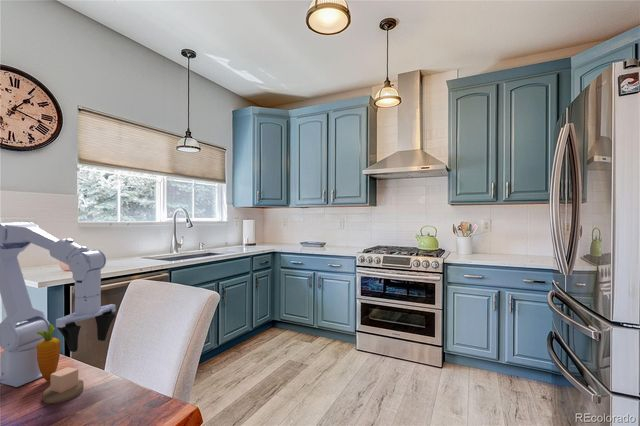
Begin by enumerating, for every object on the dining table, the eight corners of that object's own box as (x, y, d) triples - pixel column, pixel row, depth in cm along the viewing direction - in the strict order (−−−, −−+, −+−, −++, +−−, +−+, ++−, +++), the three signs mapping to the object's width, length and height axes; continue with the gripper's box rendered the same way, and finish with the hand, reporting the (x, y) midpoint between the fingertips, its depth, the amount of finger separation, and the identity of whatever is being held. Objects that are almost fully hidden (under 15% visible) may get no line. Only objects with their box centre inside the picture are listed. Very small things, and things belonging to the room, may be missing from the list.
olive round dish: (35, 401, 78) (35, 393, 78) (70, 384, 85) (70, 377, 85) (56, 407, 75) (56, 399, 75) (91, 389, 82) (91, 382, 82)
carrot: (46, 386, 83) (46, 329, 84) (31, 385, 84) (31, 328, 85) (65, 377, 88) (65, 323, 89) (50, 375, 89) (50, 322, 90)
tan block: (50, 390, 79) (50, 374, 79) (68, 382, 83) (67, 366, 83) (61, 393, 77) (61, 376, 78) (78, 384, 81) (78, 369, 81)
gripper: (69, 303, 78) (69, 358, 78) (123, 290, 92) (123, 337, 91) (50, 301, 80) (50, 355, 80) (105, 288, 94) (105, 334, 94)
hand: (88, 345), depth 86 cm, fingers open, 7 cm apart
